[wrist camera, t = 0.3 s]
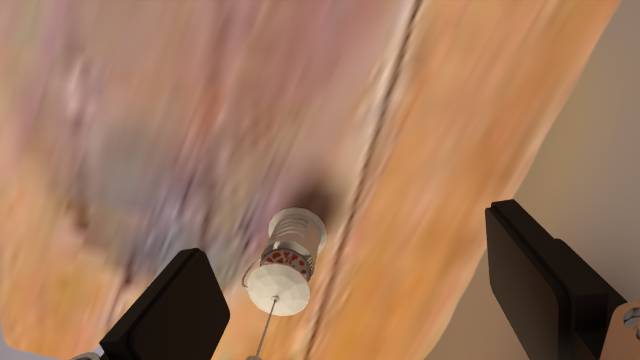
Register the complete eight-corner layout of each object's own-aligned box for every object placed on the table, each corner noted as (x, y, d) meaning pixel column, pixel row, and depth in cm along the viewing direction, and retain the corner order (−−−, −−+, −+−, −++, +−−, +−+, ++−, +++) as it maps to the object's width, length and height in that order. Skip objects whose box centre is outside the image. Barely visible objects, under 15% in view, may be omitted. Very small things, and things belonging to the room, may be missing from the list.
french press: (337, 248, 54) (320, 397, 31) (276, 269, 57) (220, 419, 34) (310, 198, 51) (270, 321, 28) (248, 223, 54) (165, 353, 31)
